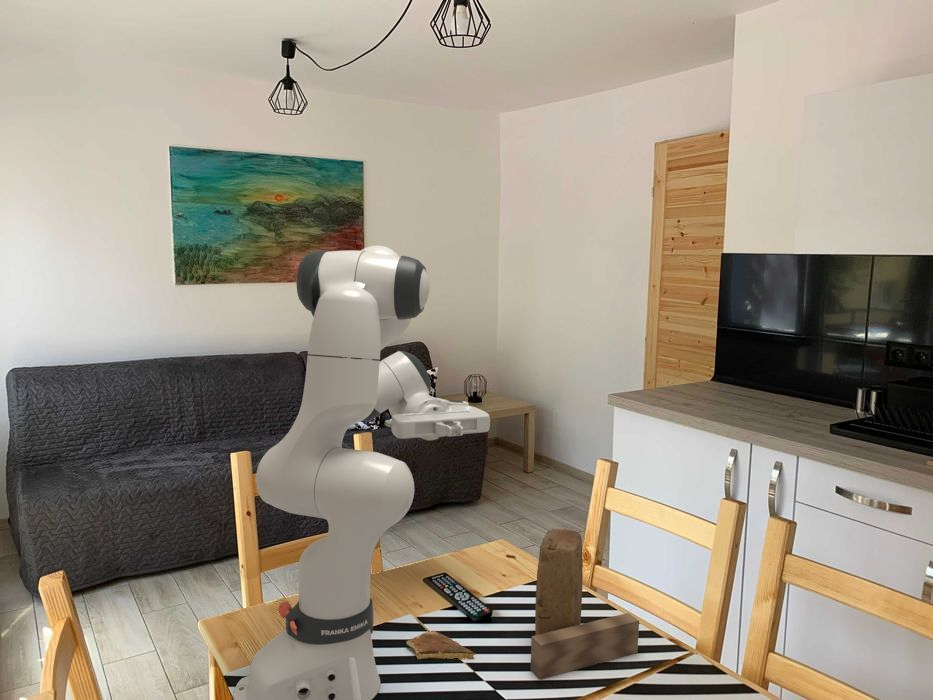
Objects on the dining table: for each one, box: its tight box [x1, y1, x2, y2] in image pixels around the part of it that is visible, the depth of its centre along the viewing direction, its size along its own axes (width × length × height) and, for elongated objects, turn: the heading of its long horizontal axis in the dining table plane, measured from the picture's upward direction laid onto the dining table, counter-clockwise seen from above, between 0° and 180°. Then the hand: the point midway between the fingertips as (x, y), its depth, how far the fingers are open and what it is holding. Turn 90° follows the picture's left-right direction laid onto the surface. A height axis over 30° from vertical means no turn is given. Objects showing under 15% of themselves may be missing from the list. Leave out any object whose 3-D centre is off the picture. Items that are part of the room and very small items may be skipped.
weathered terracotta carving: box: [534, 528, 584, 636], centre depth 127 cm, size 11×8×20 cm
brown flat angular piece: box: [406, 630, 477, 660], centre depth 123 cm, size 11×8×2 cm
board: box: [530, 612, 640, 680], centre depth 122 cm, size 20×3×6 cm, turn 115°
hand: (456, 431), depth 137 cm, fingers closed
